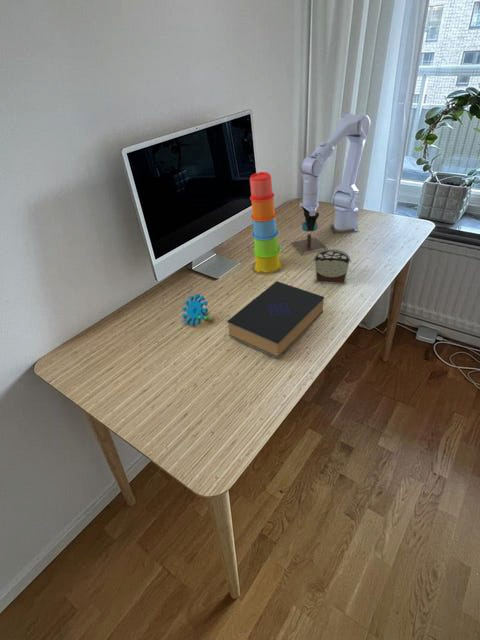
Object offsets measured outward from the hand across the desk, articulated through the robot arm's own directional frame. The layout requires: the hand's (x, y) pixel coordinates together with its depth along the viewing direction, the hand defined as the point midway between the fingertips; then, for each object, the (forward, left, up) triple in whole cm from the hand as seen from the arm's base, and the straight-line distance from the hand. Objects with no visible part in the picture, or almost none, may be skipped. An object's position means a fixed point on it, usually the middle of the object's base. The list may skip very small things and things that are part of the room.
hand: (309, 226), depth 149 cm
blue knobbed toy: (+40, +46, -9) cm, 62 cm away
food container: (-5, +25, -9) cm, 27 cm away
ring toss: (0, 0, -9) cm, 9 cm away
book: (+15, +51, -9) cm, 54 cm away
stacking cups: (+17, +15, -9) cm, 24 cm away
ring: (0, 0, -1) cm, 1 cm away
